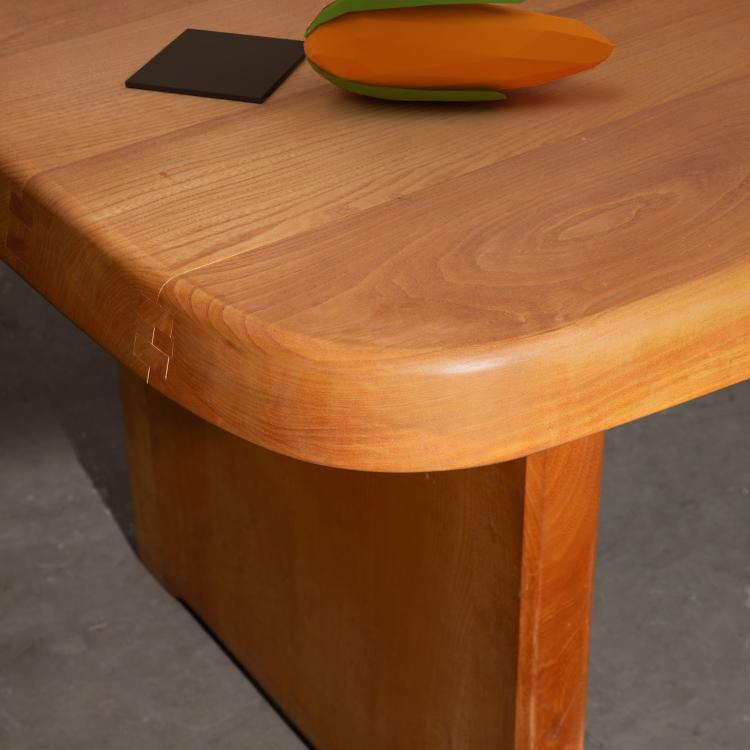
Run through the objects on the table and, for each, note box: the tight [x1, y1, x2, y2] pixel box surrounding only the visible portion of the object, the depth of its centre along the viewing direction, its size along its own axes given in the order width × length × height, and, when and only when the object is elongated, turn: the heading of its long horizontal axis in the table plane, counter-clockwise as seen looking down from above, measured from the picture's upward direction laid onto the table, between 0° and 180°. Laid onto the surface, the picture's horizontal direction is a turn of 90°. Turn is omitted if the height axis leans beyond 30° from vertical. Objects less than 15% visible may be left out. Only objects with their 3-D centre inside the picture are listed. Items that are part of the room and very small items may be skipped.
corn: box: [303, 0, 615, 103], centre depth 94 cm, size 7×8×20 cm
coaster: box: [124, 27, 306, 104], centre depth 101 cm, size 10×10×1 cm
